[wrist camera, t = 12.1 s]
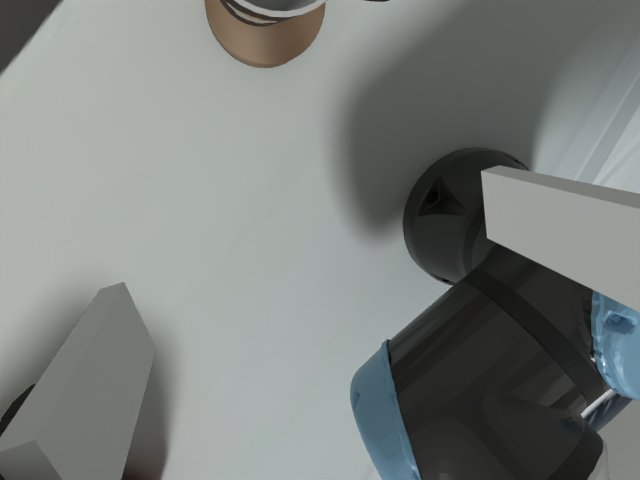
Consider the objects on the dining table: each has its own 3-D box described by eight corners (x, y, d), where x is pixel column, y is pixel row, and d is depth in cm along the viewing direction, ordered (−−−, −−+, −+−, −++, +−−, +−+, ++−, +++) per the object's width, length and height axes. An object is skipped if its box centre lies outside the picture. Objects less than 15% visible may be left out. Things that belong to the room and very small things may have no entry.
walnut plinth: (294, -69, 32) (304, -91, 28) (326, 50, 35) (339, 44, 31) (186, -38, 31) (182, -57, 27) (230, 81, 34) (231, 78, 30)
